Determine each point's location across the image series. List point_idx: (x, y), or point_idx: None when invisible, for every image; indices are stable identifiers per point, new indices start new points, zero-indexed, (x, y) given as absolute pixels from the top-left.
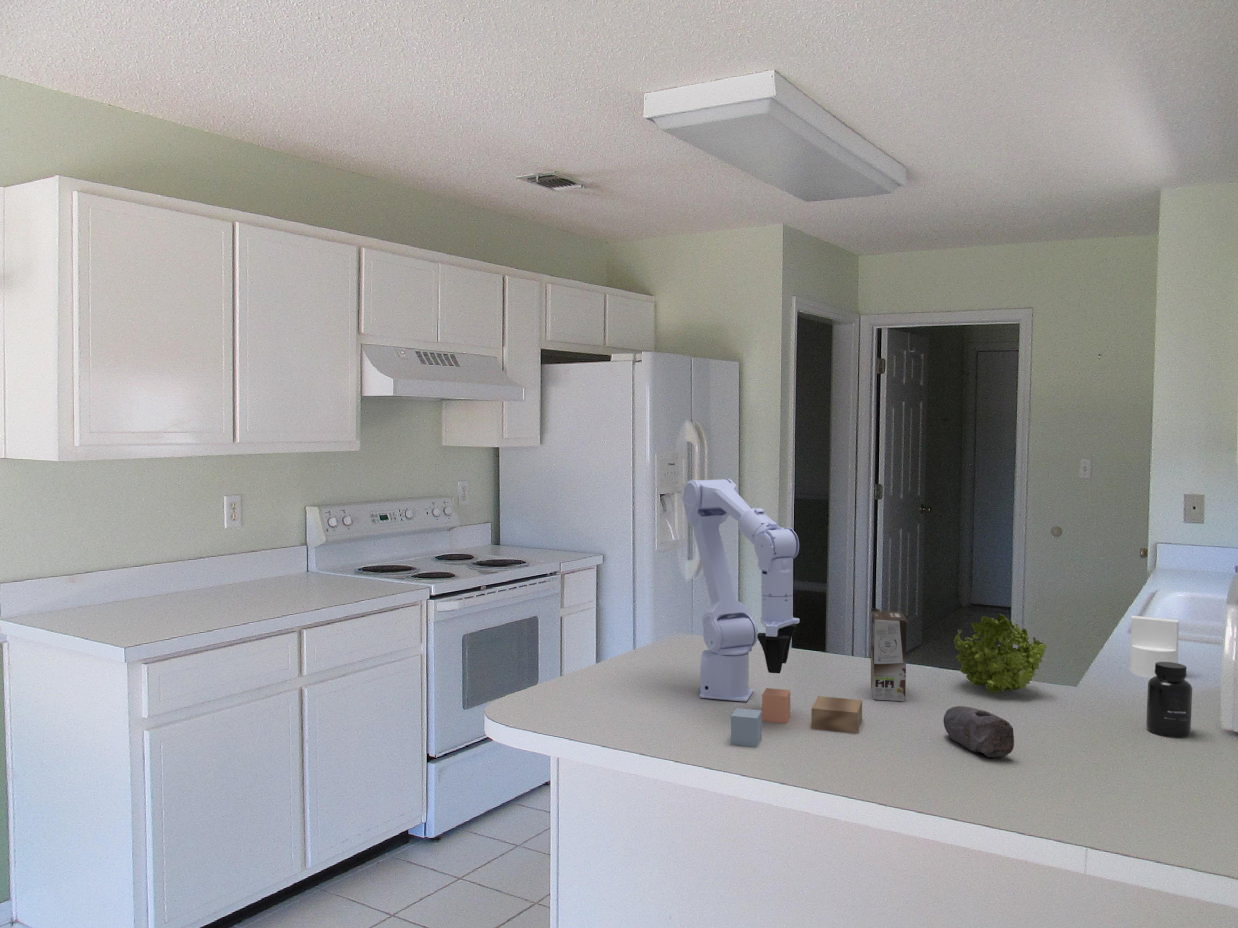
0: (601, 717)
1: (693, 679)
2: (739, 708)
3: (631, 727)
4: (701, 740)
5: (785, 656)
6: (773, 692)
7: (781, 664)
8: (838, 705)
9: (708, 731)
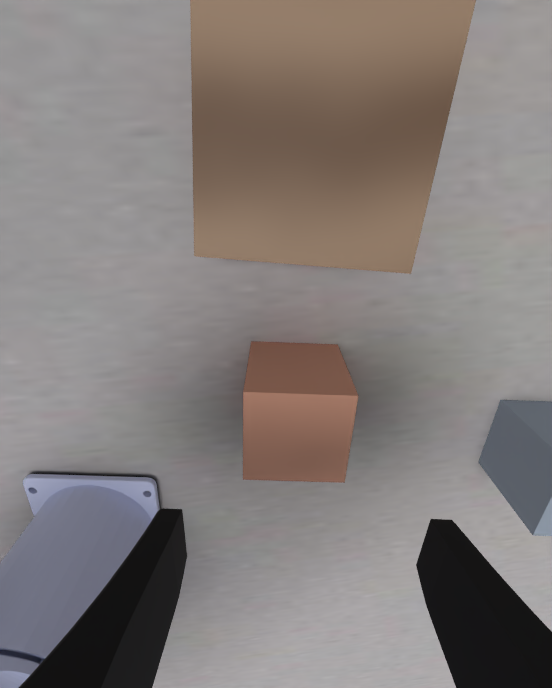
0: (370, 681)
1: None
2: (537, 526)
3: (429, 638)
4: (517, 524)
5: (165, 554)
6: (303, 449)
7: (495, 571)
8: (341, 130)
9: None
